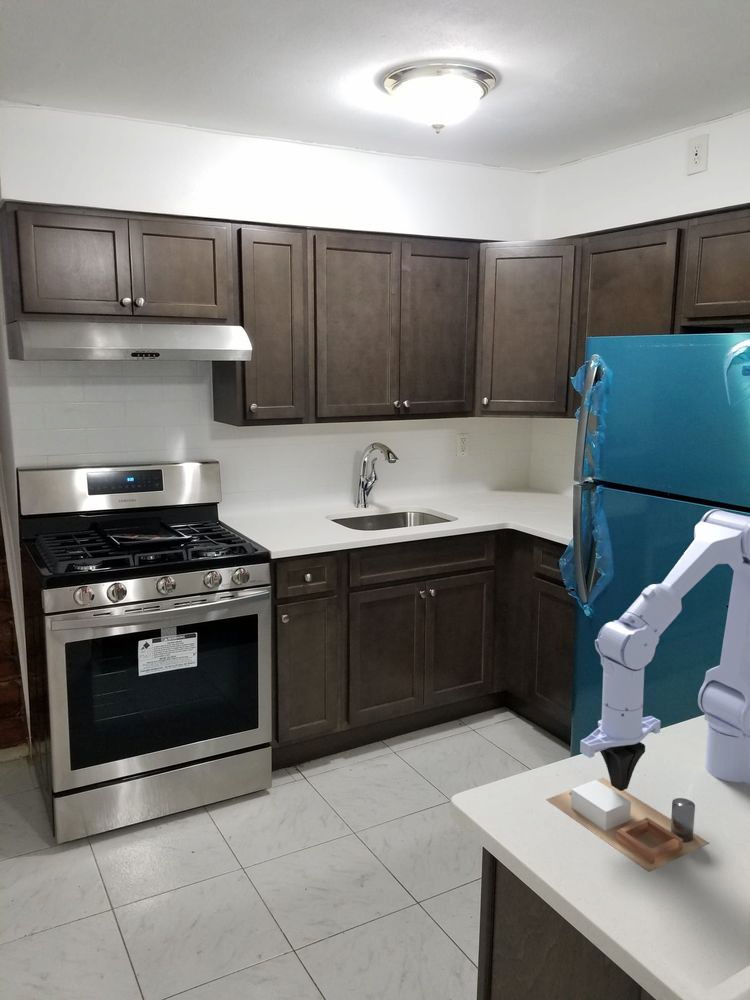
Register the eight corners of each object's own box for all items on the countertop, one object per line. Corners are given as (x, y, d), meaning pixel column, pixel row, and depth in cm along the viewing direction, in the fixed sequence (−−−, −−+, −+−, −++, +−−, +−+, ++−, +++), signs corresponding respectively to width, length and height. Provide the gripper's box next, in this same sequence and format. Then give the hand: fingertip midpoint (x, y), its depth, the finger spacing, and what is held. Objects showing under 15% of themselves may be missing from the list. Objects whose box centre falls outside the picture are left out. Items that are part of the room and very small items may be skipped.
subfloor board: (602, 783, 128) (603, 769, 128) (708, 849, 111) (709, 832, 111) (545, 805, 122) (546, 790, 122) (648, 878, 105) (649, 861, 105)
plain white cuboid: (595, 797, 123) (595, 779, 122) (630, 820, 117) (631, 801, 116) (570, 807, 120) (571, 789, 120) (605, 830, 114) (606, 811, 114)
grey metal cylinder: (680, 827, 115) (682, 795, 114) (697, 838, 112) (699, 805, 111) (665, 833, 113) (667, 802, 112) (683, 845, 111) (685, 812, 110)
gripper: (636, 681, 124) (633, 761, 126) (566, 704, 117) (564, 788, 120) (673, 698, 118) (669, 782, 120) (601, 723, 111) (598, 811, 113)
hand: (619, 786), depth 120 cm, fingers closed
